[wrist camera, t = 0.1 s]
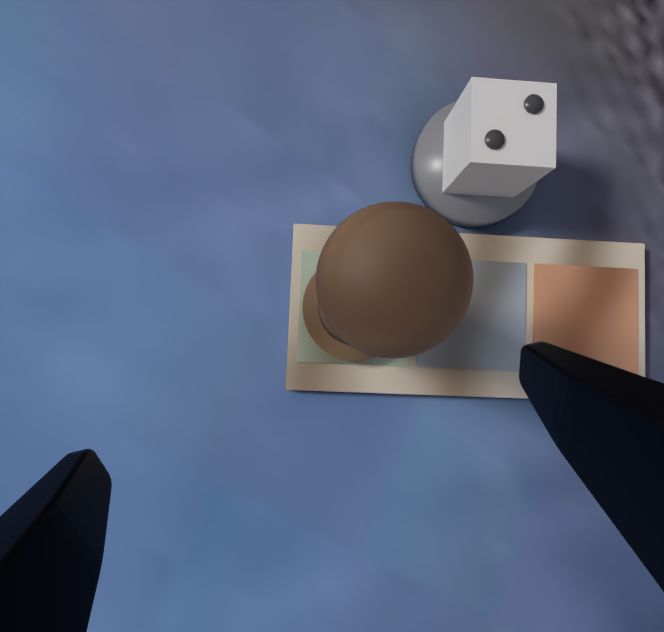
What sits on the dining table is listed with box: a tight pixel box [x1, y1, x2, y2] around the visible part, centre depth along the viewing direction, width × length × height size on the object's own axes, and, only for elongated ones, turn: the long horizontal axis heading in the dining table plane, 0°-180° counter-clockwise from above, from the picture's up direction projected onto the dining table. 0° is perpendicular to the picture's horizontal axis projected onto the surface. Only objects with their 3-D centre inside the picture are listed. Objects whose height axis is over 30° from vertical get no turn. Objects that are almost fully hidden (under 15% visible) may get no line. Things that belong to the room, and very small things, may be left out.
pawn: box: [303, 202, 474, 361], centre depth 17 cm, size 6×6×13 cm
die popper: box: [411, 77, 557, 228], centre depth 22 cm, size 7×7×5 cm
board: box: [286, 224, 645, 399], centre depth 24 cm, size 20×9×1 cm, turn 87°
